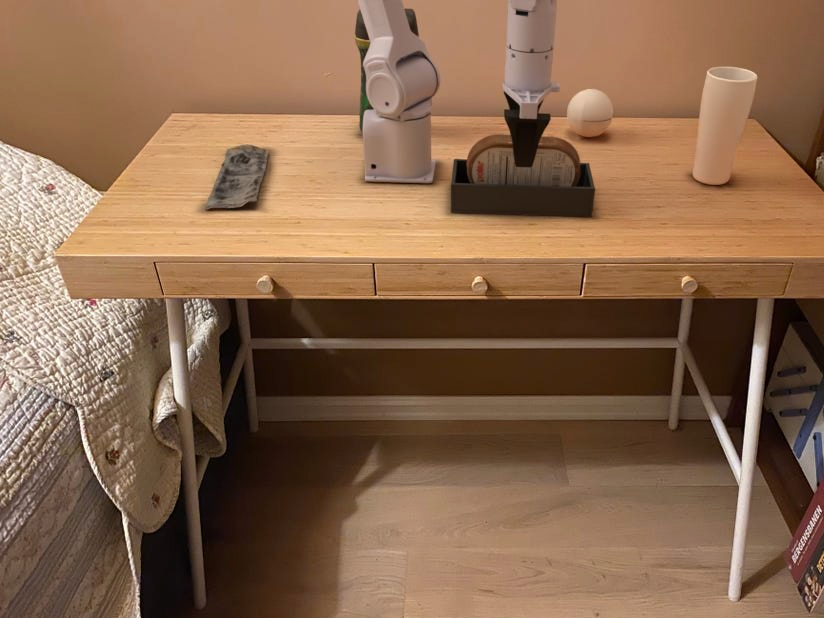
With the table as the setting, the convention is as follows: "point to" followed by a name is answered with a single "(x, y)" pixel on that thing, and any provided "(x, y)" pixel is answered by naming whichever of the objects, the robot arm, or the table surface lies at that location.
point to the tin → (497, 166)
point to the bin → (521, 196)
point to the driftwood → (238, 177)
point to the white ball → (590, 112)
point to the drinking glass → (722, 122)
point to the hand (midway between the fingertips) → (522, 154)
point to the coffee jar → (363, 46)
